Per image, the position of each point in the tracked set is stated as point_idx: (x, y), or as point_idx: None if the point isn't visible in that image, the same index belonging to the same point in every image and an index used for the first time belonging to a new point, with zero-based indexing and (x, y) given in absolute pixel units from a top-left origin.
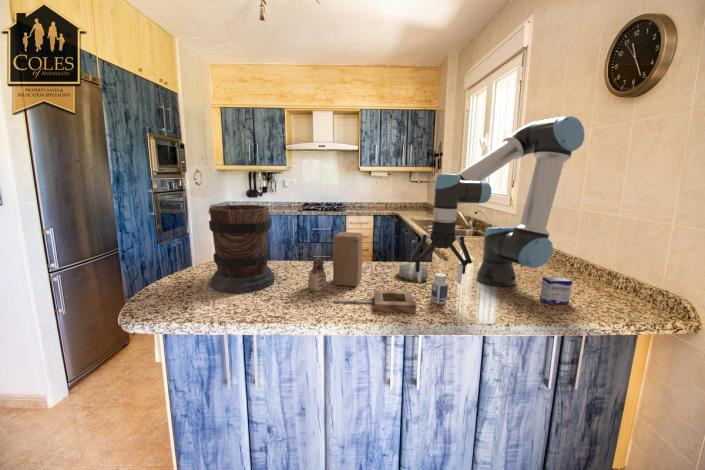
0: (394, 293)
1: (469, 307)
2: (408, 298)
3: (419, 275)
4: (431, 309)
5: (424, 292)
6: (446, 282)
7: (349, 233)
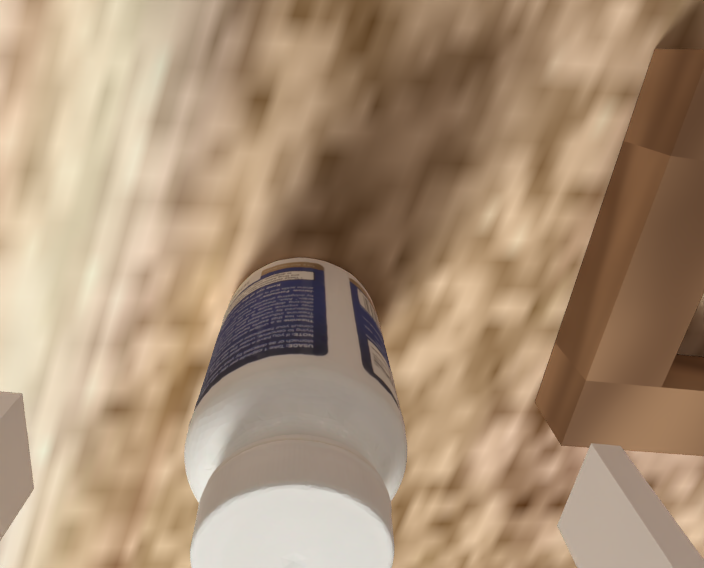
0: None
1: (15, 165)
2: (684, 263)
3: (672, 525)
4: (450, 133)
5: None
6: (219, 419)
7: None
